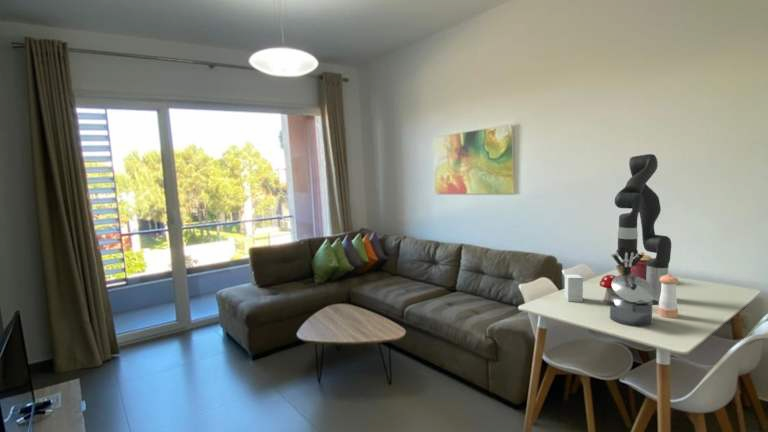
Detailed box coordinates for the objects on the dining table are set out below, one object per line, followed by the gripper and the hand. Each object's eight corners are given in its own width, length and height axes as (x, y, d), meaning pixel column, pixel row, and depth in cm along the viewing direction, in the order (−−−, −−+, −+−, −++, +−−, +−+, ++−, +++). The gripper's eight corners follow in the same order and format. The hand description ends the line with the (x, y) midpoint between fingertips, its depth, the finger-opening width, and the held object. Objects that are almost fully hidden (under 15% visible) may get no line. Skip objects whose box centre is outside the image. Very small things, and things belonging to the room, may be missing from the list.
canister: (623, 279, 245) (623, 250, 243) (642, 277, 246) (643, 249, 244) (639, 284, 232) (639, 254, 230) (659, 283, 233) (660, 253, 232)
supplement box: (583, 301, 206) (583, 277, 204) (567, 301, 207) (567, 277, 206) (579, 297, 213) (579, 274, 212) (564, 297, 214) (564, 274, 213)
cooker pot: (646, 313, 185) (646, 292, 184) (670, 328, 167) (671, 305, 166) (597, 313, 188) (597, 293, 187) (616, 328, 170) (616, 305, 169)
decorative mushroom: (600, 306, 198) (600, 276, 197) (598, 300, 206) (598, 272, 205) (623, 307, 195) (624, 277, 193) (620, 302, 203) (620, 273, 201)
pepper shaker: (671, 319, 178) (672, 277, 176) (654, 314, 184) (655, 273, 183) (681, 316, 181) (682, 274, 179) (664, 311, 187) (665, 271, 185)
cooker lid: (638, 267, 187) (639, 262, 185) (662, 304, 168) (664, 300, 167) (600, 267, 189) (602, 263, 187) (620, 305, 170) (622, 300, 168)
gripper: (638, 235, 182) (637, 272, 184) (608, 236, 184) (607, 272, 185) (647, 238, 175) (646, 276, 176) (615, 238, 176) (614, 276, 178)
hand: (626, 274), depth 181 cm, fingers closed
